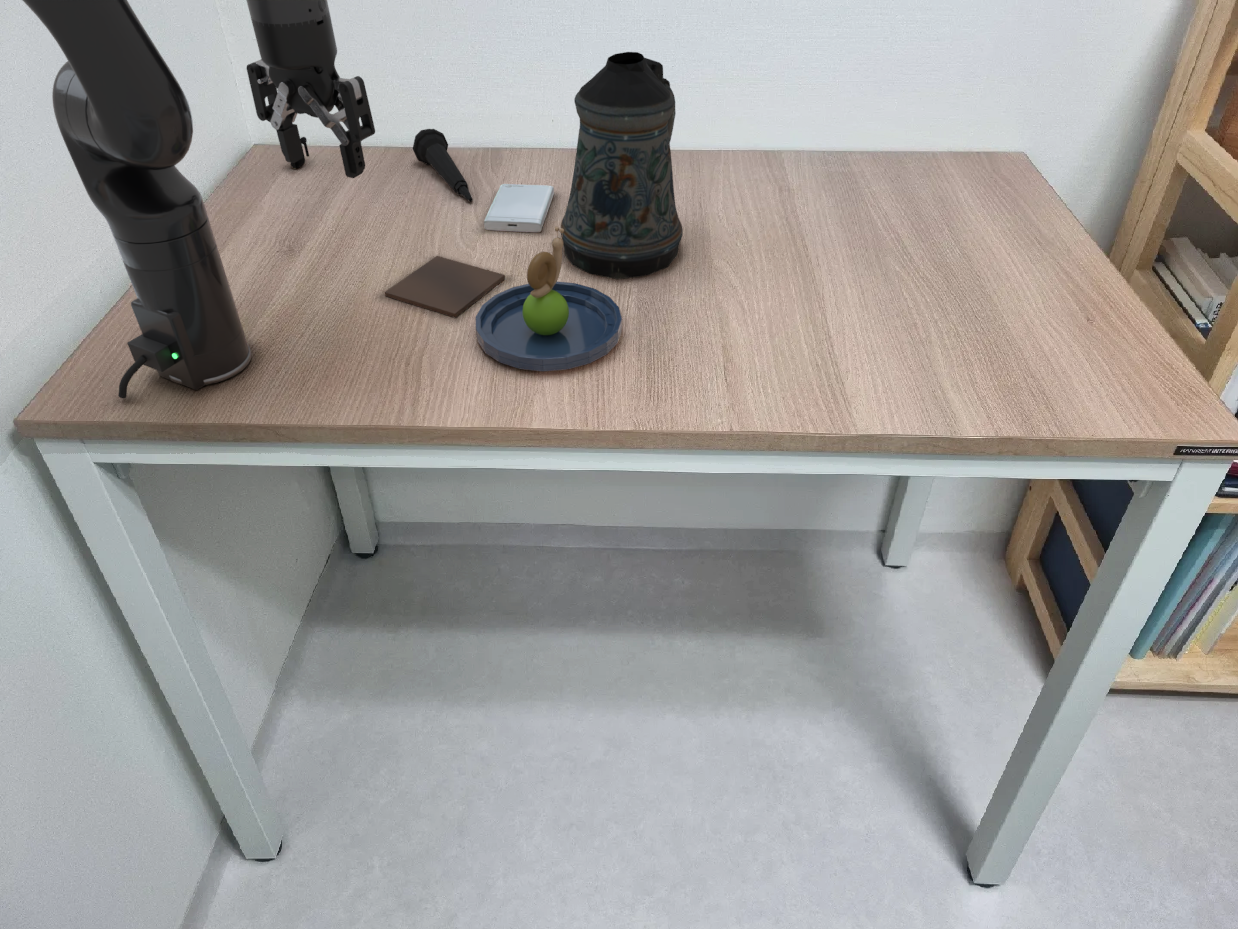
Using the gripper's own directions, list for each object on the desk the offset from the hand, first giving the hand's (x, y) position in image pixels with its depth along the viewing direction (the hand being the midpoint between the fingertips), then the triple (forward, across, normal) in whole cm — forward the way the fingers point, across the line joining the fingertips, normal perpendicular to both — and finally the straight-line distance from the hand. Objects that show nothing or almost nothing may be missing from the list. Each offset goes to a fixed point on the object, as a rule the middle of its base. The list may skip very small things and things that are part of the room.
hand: (325, 167), depth 101 cm
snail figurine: (+19, +23, +7) cm, 31 cm away
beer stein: (+19, +21, +31) cm, 42 cm away
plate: (+19, +23, +7) cm, 31 cm away
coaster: (+19, +6, +10) cm, 22 cm away
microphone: (+20, -14, +38) cm, 45 cm away
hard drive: (+20, +3, +33) cm, 39 cm away
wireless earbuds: (+19, -38, +31) cm, 53 cm away
